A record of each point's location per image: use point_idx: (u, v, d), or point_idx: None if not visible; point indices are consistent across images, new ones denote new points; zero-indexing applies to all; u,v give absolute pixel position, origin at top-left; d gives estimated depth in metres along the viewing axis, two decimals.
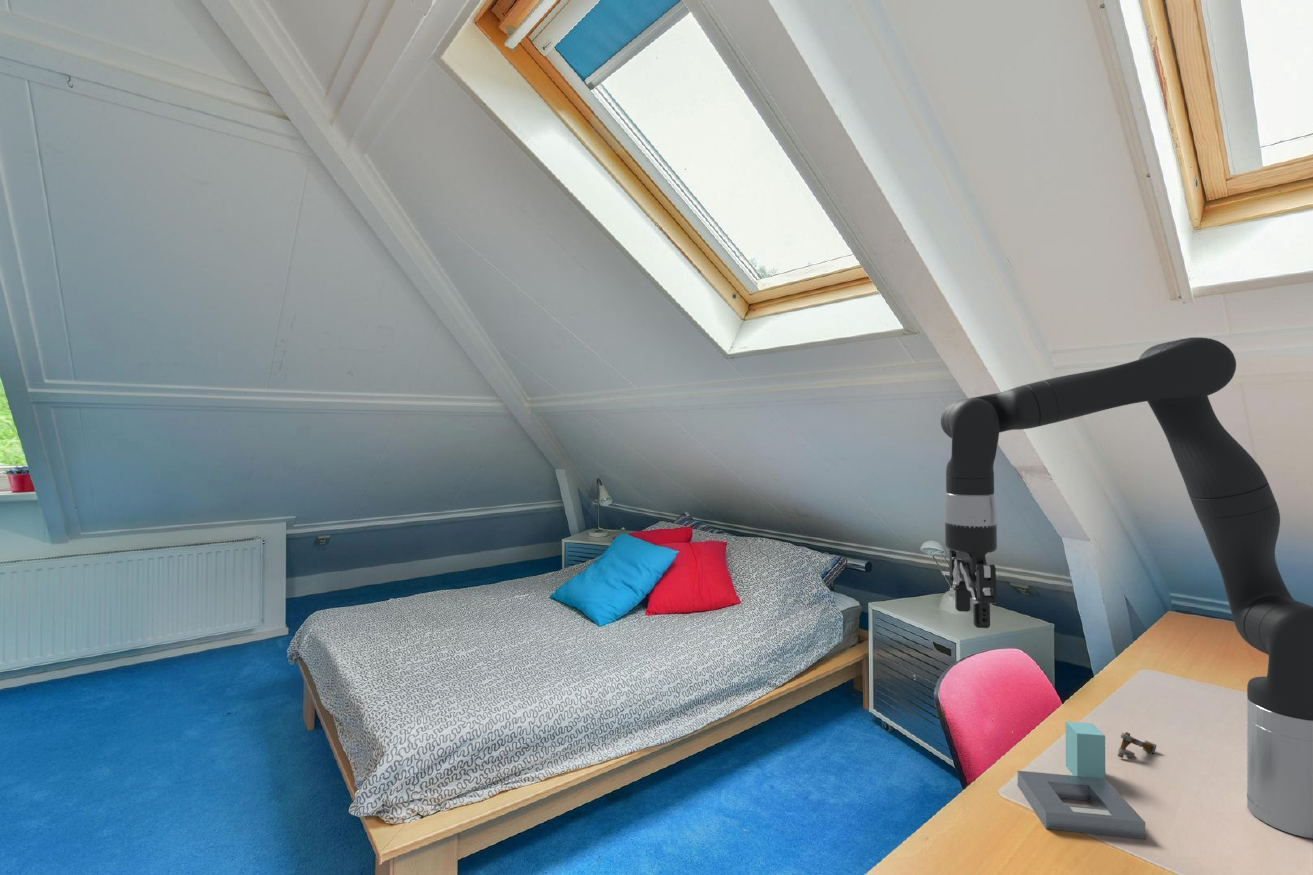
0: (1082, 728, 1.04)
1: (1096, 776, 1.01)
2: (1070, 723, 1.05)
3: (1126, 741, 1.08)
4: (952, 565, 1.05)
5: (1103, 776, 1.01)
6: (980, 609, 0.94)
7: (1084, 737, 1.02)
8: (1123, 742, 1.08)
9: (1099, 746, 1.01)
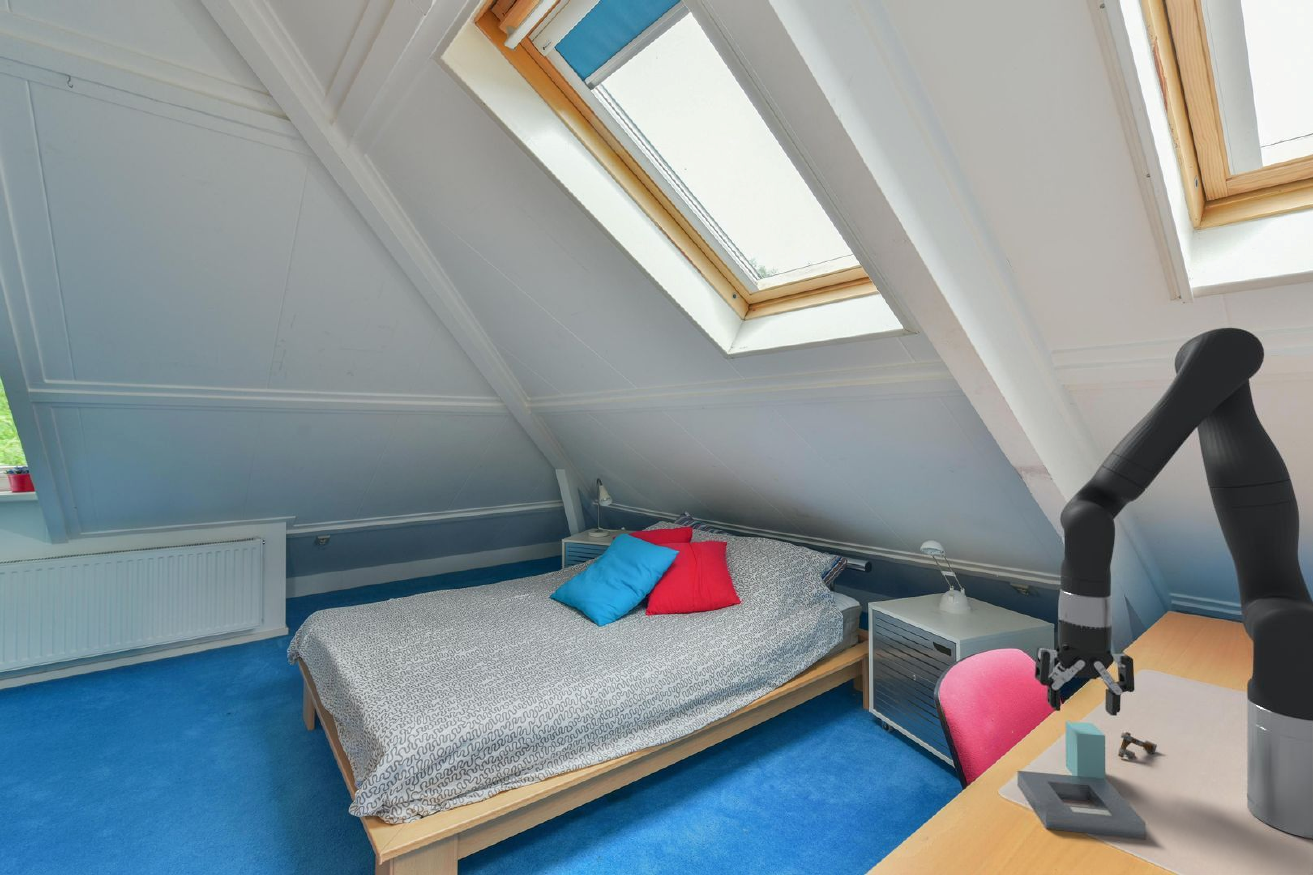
0: (1082, 728, 1.04)
1: (1096, 776, 1.01)
2: (1070, 723, 1.05)
3: (1126, 741, 1.08)
4: (1048, 668, 1.04)
5: (1103, 776, 1.01)
6: (1120, 697, 1.02)
7: (1084, 737, 1.02)
8: (1123, 742, 1.08)
9: (1099, 746, 1.01)
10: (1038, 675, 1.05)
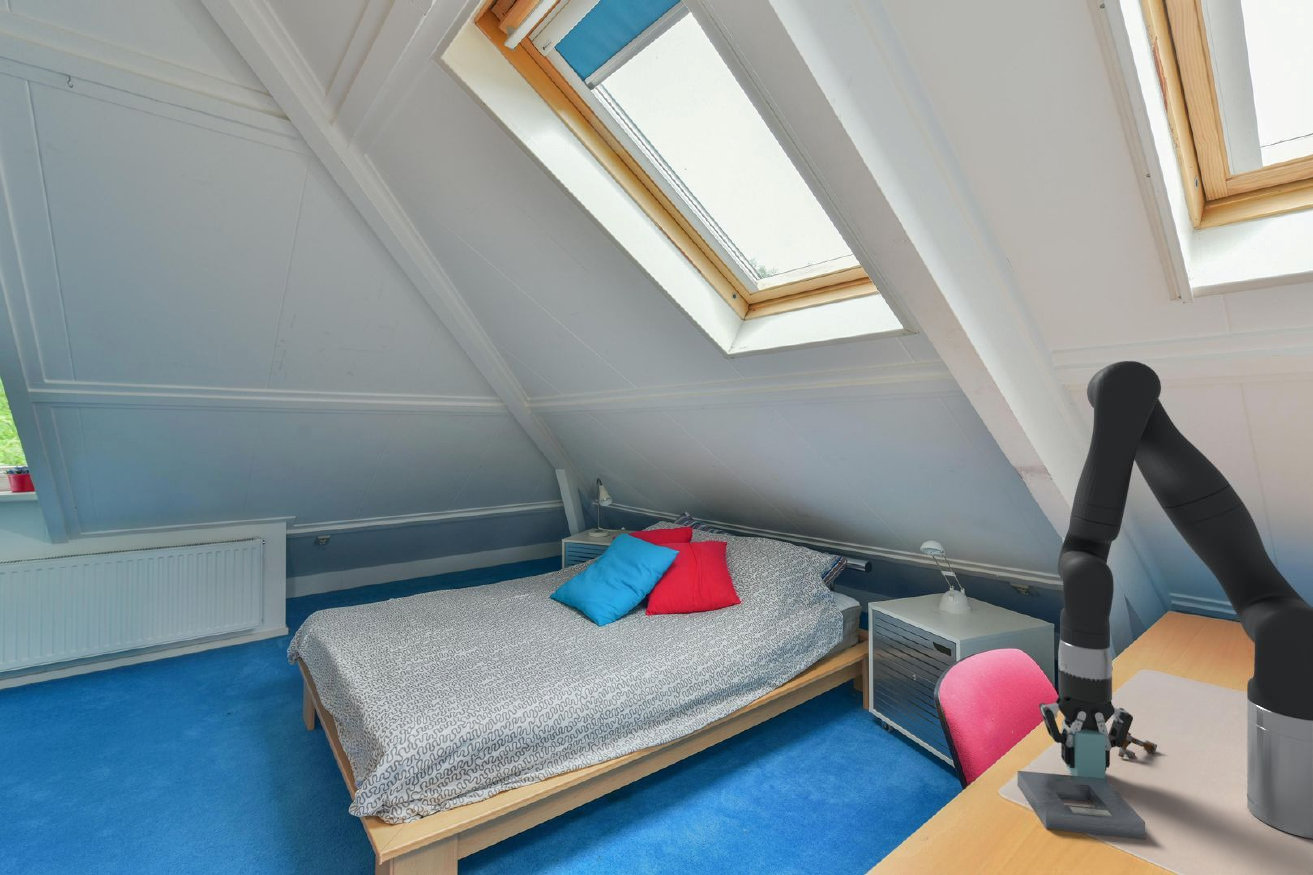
0: None
1: (1096, 776, 1.01)
2: None
3: (1127, 741, 1.08)
4: (1056, 724, 1.03)
5: (1103, 776, 1.01)
6: (1109, 752, 1.02)
7: (1084, 737, 1.02)
8: (1124, 742, 1.08)
9: (1099, 746, 1.01)
10: (1051, 732, 1.05)
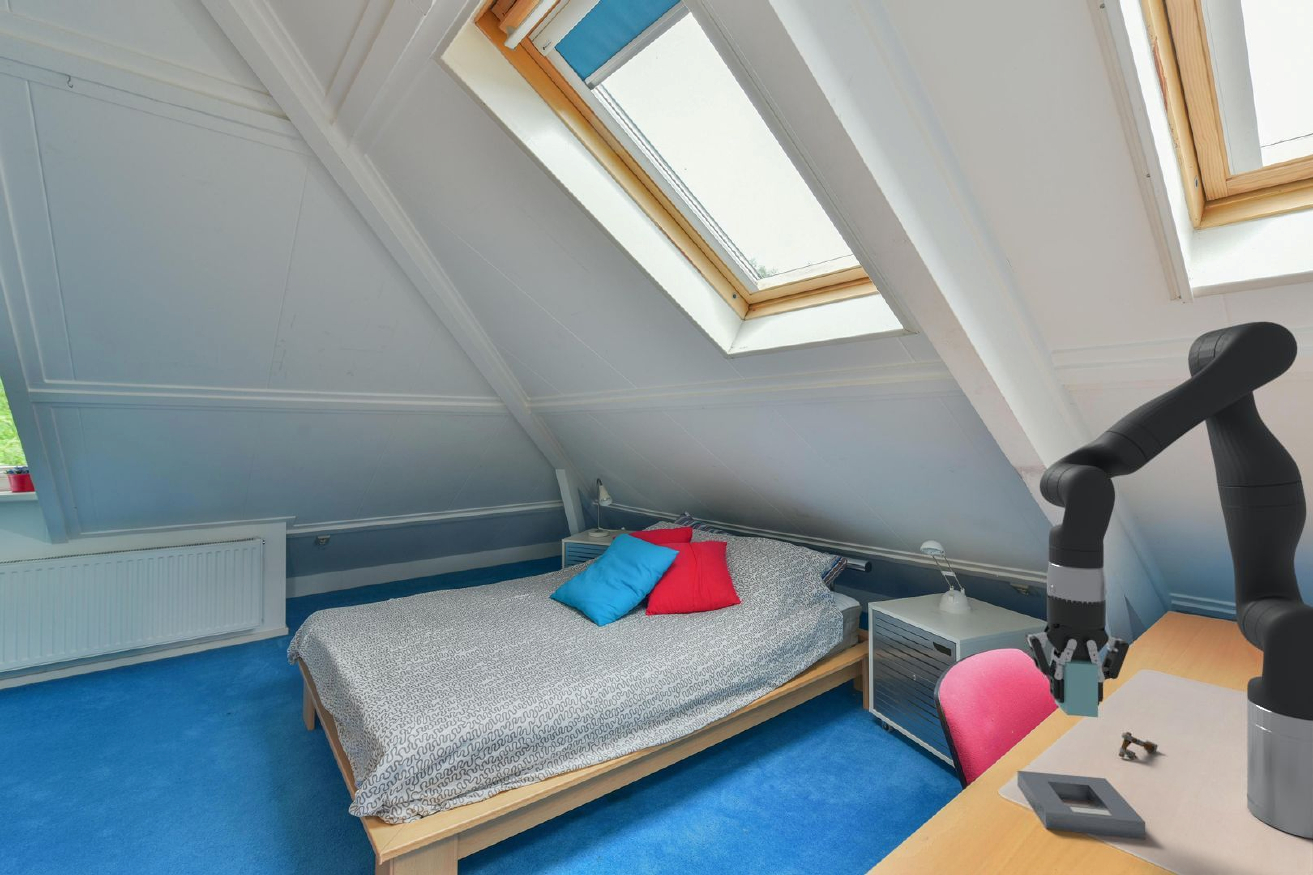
0: None
1: (1087, 710, 0.92)
2: None
3: (1127, 741, 1.08)
4: (1043, 654, 0.94)
5: (1095, 710, 0.92)
6: (1102, 685, 0.93)
7: (1074, 667, 0.92)
8: (1124, 742, 1.09)
9: (1091, 677, 0.92)
10: (1038, 665, 0.95)
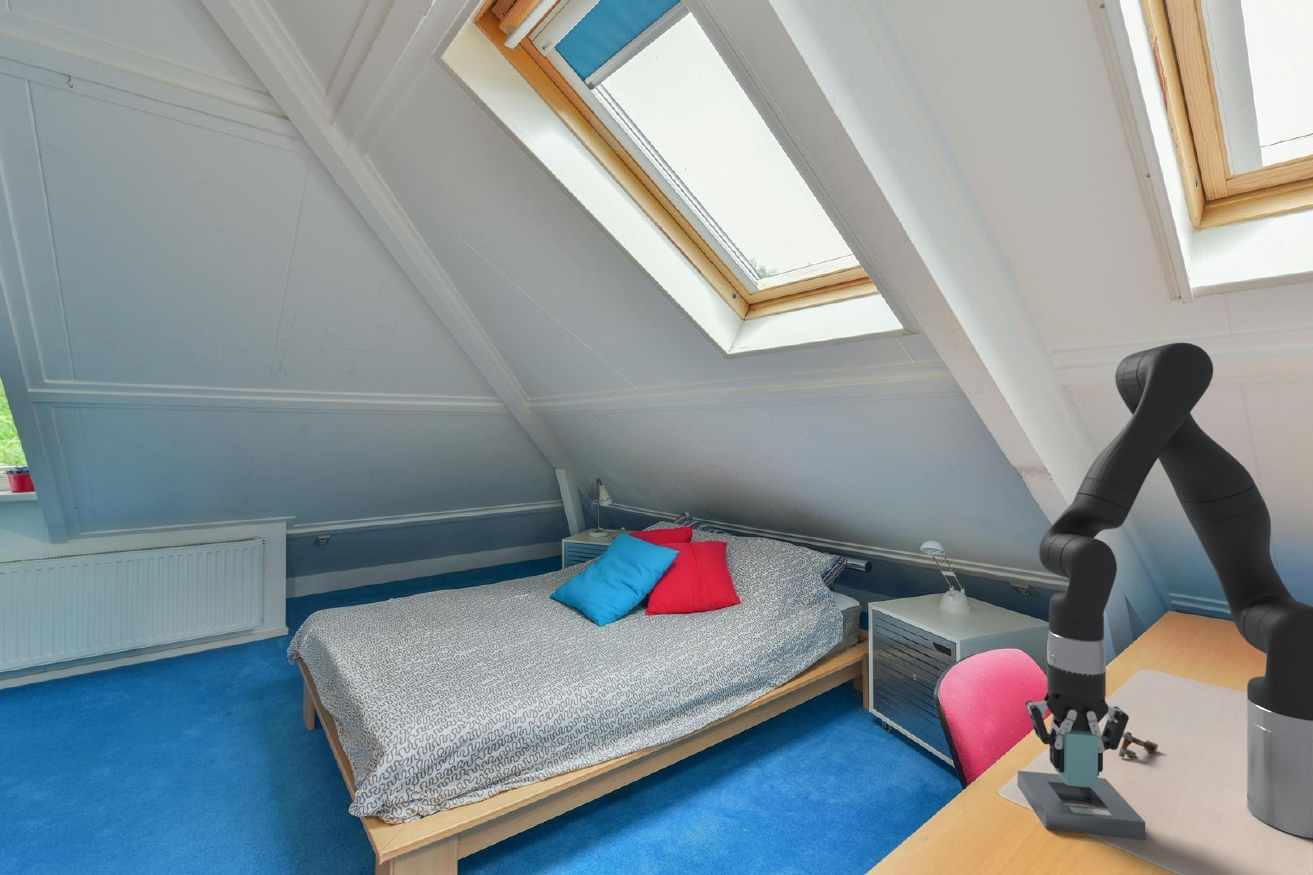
0: None
1: (1087, 781, 0.92)
2: None
3: (1127, 741, 1.08)
4: None
5: (1095, 781, 0.92)
6: (1102, 755, 0.93)
7: (1074, 738, 0.92)
8: (1124, 742, 1.09)
9: (1091, 748, 0.92)
10: (1038, 733, 0.95)
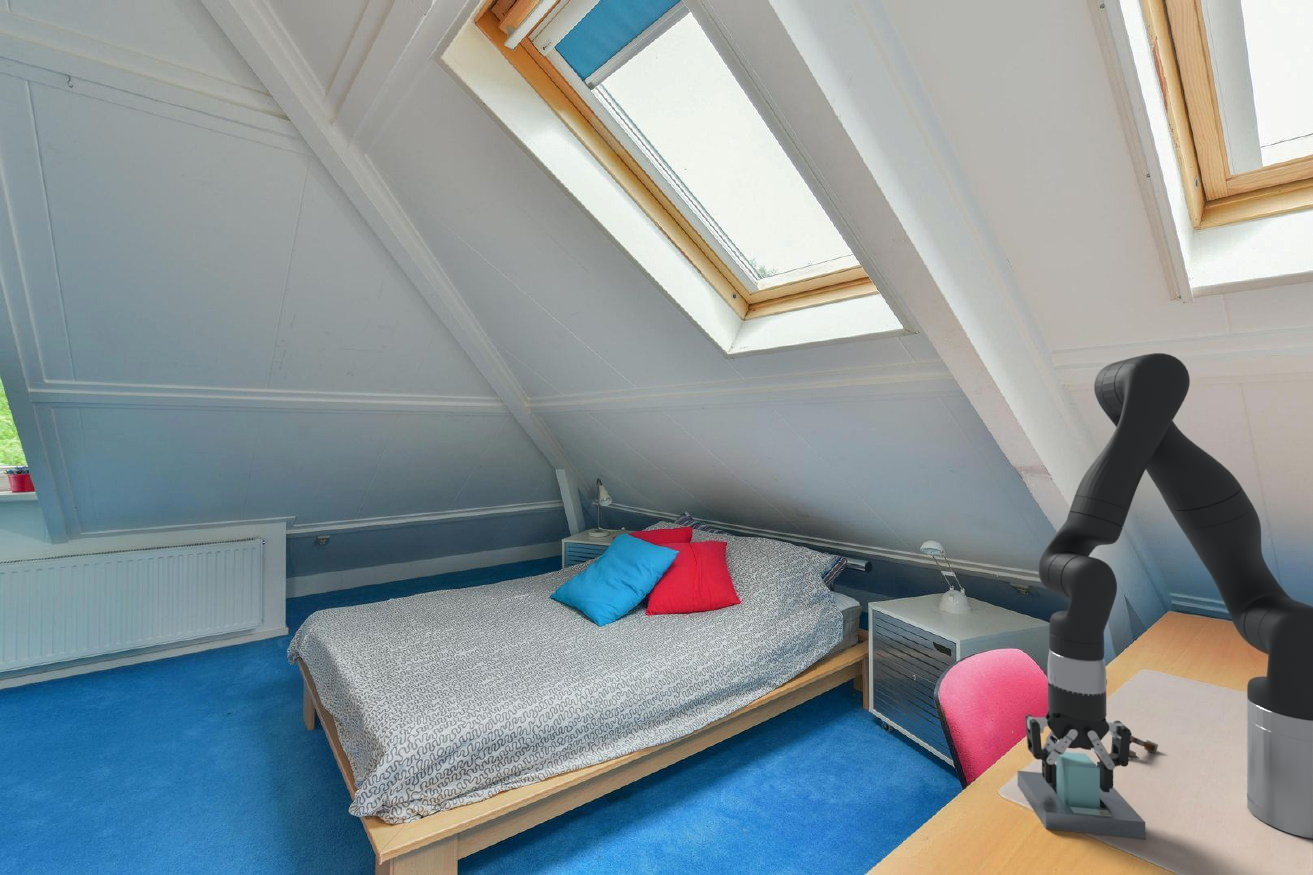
0: (1074, 759, 0.94)
1: None
2: (1061, 754, 0.96)
3: None
4: (1040, 739, 0.94)
5: None
6: (1112, 771, 0.93)
7: (1076, 770, 0.92)
8: None
9: (1093, 780, 0.92)
10: (1031, 747, 0.96)
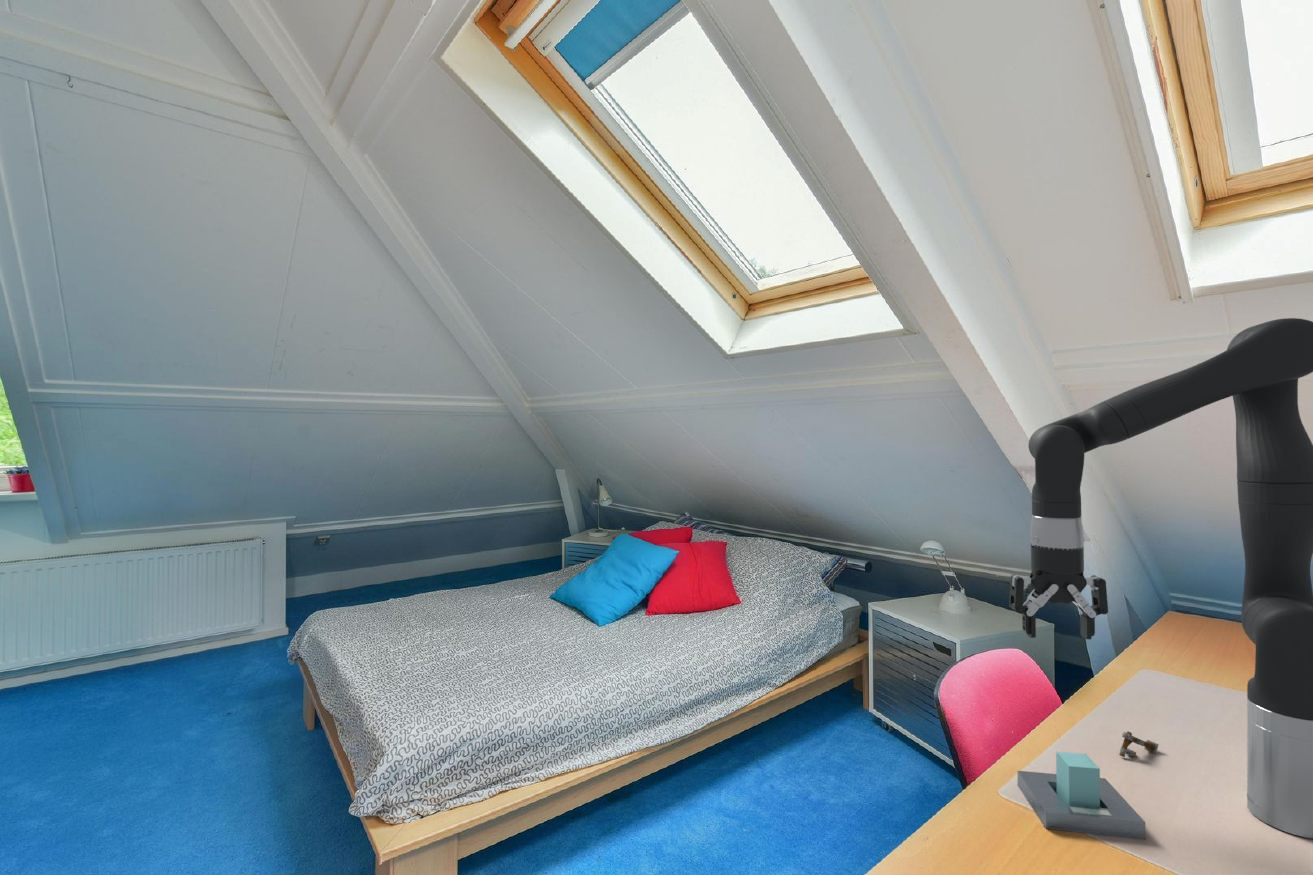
0: (1074, 759, 0.94)
1: None
2: (1061, 754, 0.96)
3: (1128, 740, 1.08)
4: (1022, 594, 1.02)
5: None
6: (1094, 620, 1.01)
7: (1076, 770, 0.92)
8: (1125, 741, 1.09)
9: (1093, 780, 0.92)
10: (1013, 603, 1.04)
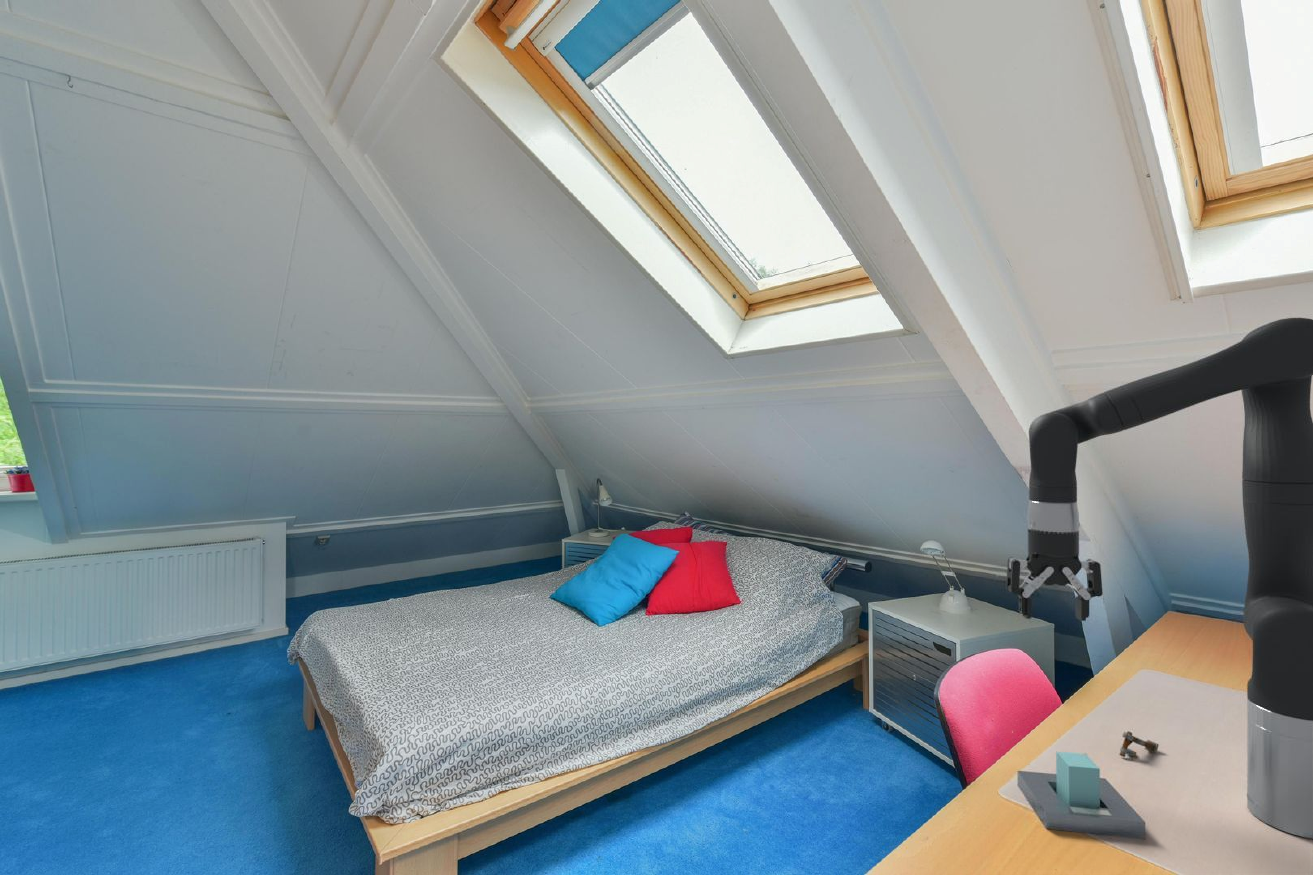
0: (1074, 759, 0.94)
1: None
2: (1061, 754, 0.96)
3: (1128, 740, 1.08)
4: (1018, 576, 1.06)
5: None
6: (1088, 602, 1.04)
7: (1076, 770, 0.92)
8: (1125, 741, 1.09)
9: (1093, 780, 0.92)
10: (1009, 585, 1.08)
